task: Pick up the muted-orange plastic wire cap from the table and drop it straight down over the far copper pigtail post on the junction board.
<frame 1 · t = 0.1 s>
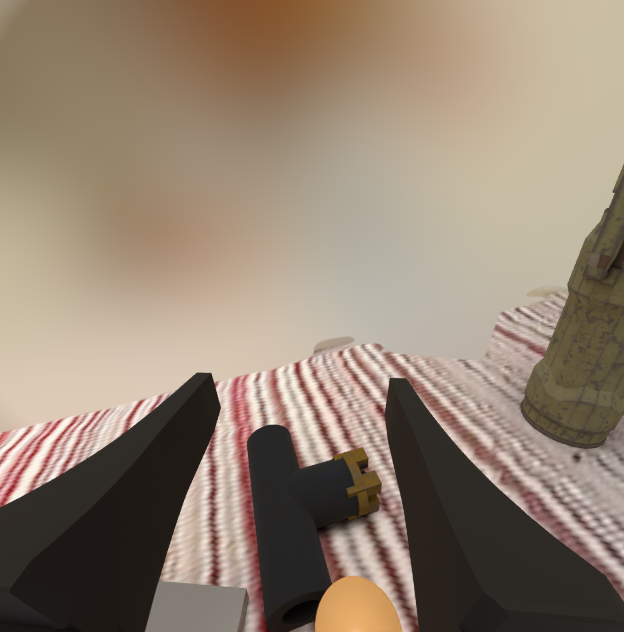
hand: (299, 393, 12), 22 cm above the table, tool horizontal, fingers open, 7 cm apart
pipe connector: (315, 512, 29), on the table
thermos: (559, 421, 38), on the table
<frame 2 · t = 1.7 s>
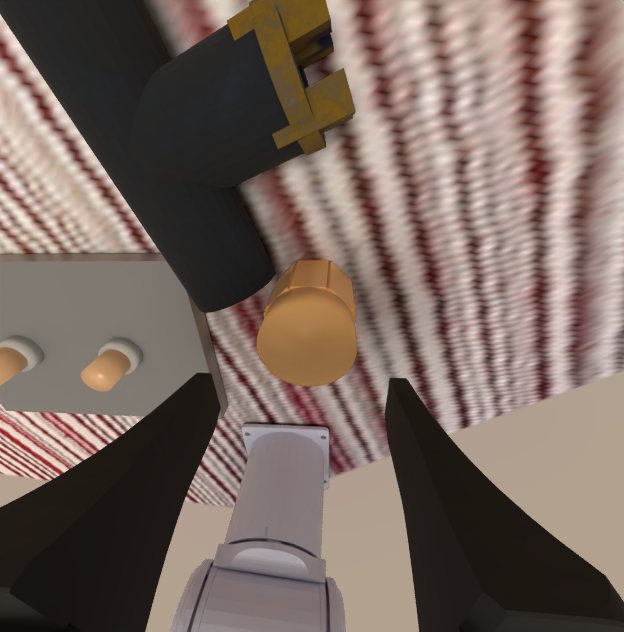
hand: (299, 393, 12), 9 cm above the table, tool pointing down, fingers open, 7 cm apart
pipe connector: (235, 127, 15), on the table
junction board: (89, 339, 23), on the table
wire cap: (314, 295, 20), on the table
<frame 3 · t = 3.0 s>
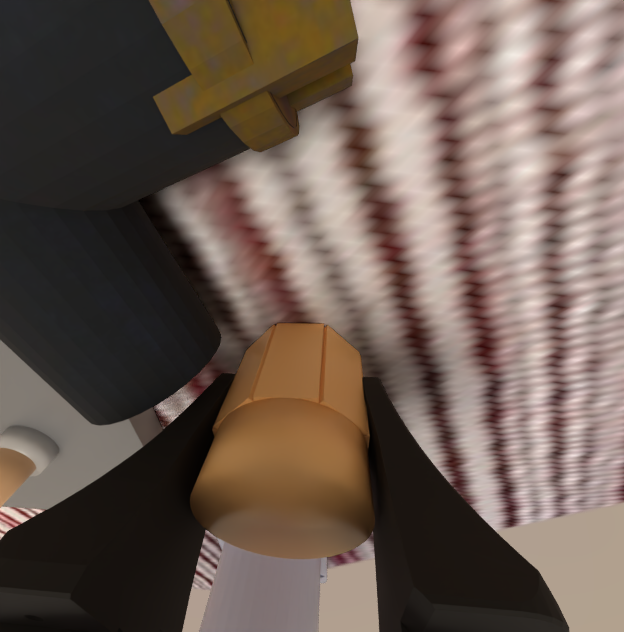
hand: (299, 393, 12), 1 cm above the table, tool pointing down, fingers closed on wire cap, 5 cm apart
pipe connector: (145, 99, 9), on the table
wire cap: (303, 370, 13), on the table, touching gripper
when the fingers open (4 cm above the table, at t = 7.2 s): wire cap drops 2 cm, resting on junction board.
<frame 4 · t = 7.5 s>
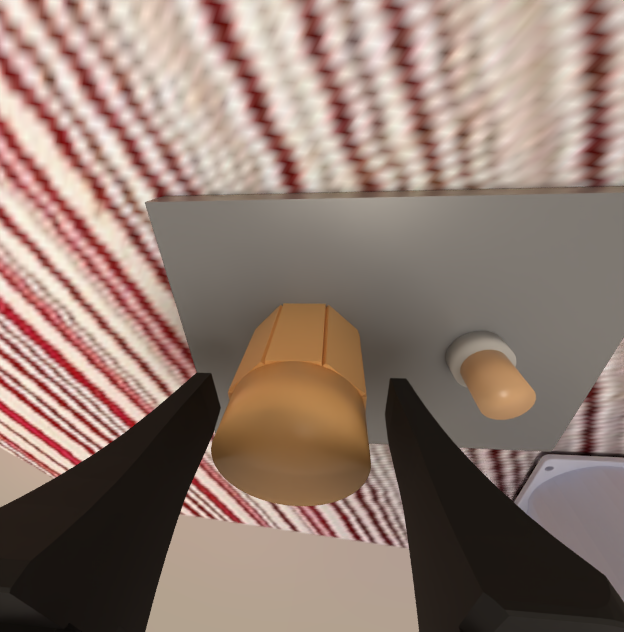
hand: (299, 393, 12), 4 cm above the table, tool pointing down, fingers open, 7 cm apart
junction board: (384, 334, 15), on the table
wire cap: (306, 348, 14), point 1 cm above the table, touching junction board
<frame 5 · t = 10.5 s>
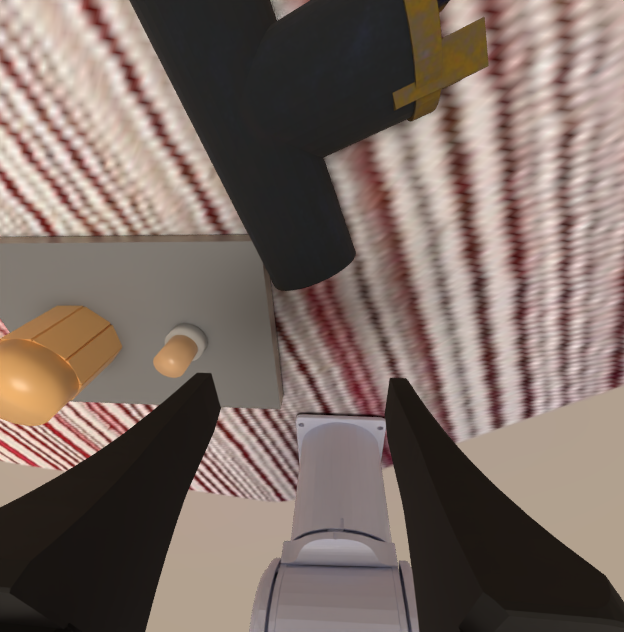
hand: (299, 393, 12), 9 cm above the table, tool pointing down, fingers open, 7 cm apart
pipe connector: (321, 97, 15), on the table
junction board: (148, 326, 22), on the table
wire cap: (85, 335, 21), point 1 cm above the table, touching junction board
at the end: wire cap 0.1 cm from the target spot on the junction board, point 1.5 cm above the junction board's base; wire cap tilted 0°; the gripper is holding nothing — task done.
